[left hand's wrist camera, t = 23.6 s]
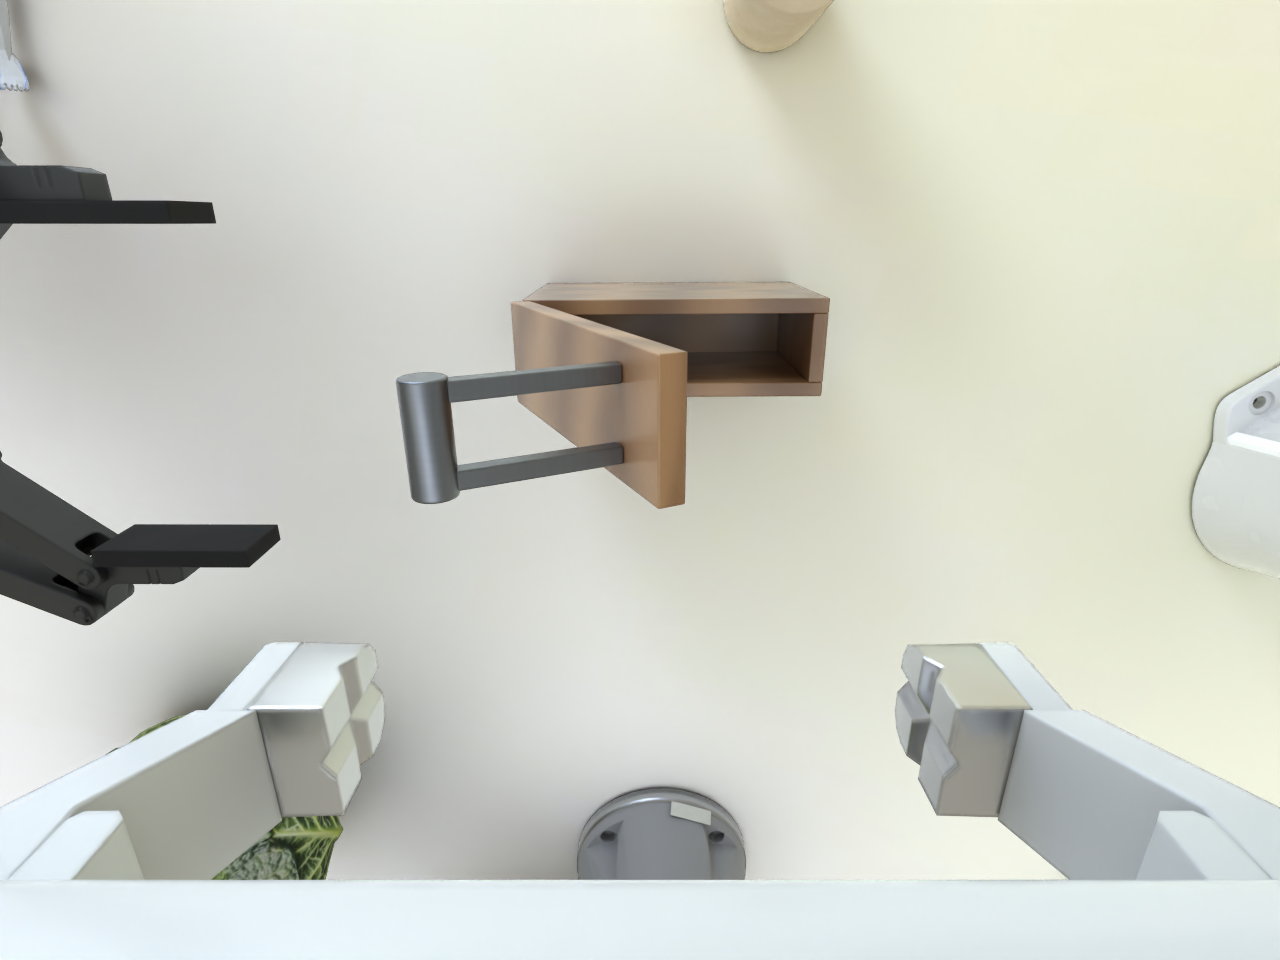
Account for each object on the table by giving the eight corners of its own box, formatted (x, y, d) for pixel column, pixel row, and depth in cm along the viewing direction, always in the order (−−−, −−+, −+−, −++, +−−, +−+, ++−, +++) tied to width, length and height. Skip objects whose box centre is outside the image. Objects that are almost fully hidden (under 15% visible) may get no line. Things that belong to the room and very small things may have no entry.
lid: (688, 351, 22) (408, 378, 18) (685, 504, 24) (430, 555, 20) (530, 300, 36) (354, 310, 32) (536, 399, 38) (370, 419, 34)
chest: (790, 281, 46) (830, 298, 36) (784, 360, 48) (821, 396, 38) (547, 283, 46) (522, 300, 36) (551, 362, 48) (528, 397, 38)
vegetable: (354, 671, 65) (288, 717, 45) (379, 884, 63) (322, 1027, 43) (117, 715, 61) (-68, 786, 41) (137, 944, 59) (-47, 1132, 39)
